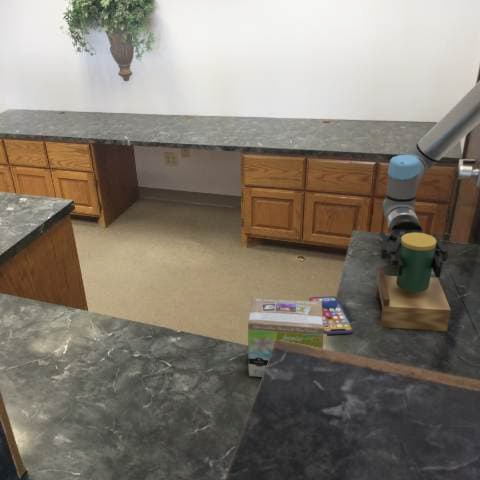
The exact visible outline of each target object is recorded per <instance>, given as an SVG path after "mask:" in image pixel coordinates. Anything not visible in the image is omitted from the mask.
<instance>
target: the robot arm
mask: <svg viewBox="0 0 480 480" xmlns="http://www.w3.org/2000/svg"><path fill="white" fill-rule="evenodd" d="M479 124H480V80H478V81H477V83H476V84H474V85H473V87H472V88H470V89H469V91H468V92H467V93H466V94H464V95H463V97H462V98H460V100H458V102H457V103H456V104H455V105H454V106H453V107H452V108H451V109H450V110H449V111H448V112H447V113H446V114H445V115H443V117H442V118H441V119H440V120H439V121H438V122H437V123H436V124H435V125H434V126H433V127H432V128H431V129H430V130H429V131H427V133H426V134H425V135H424V136H423V137H421V139H420V140H419V141H417V143H416V144H415V145H414V146H413V147H412V148H411V149H409V150H408V151H407V152H406V154H399V155H396V156H395V155H394V156H393V157H392V158H390V160H389V164H388V168H387V183H386V193H385V198H384V200H383V203H382V214H383V216H384V218H385V222H386V224H387V225H386V226H387V228H388V232H389V234H387V233H385V232H383V231H381V232H379V234H378V243H379V244H380V259H382V260H386V259H388V263H389V264H390V265H391V266H394V267H395V268H396V272H397V273H398V276H402V271H403V263H402V260H401V256H400V249H401V237H402V236H403V235H405V234H407V233H424V234H426V233H425V232H424V231H423V227H422V226H421V223H420V221H419V219H418V216H417V214H416V212H415V211H416V210H415V208H416V200H417V191H418V185H419V182H420V181H421V180H422V178H424V176H425V175H426V174H427V173H428V172H429V171H430V170H431V169H432V168H433V167H434V166H435V165H436V164H437V163H438V162H439V161H440V160H441V159H442V158H444V156H446V154H448V153H449V152H450V151H451V150H452V149H453V148H454V147H455V146H456V145H457V144H459V142H460V141H462V140H463V139H464V138H465V137H466V136H467V135H468V134H469V133H471V131H473V129H474V128H475V127H477V126H478V125H479ZM431 236H432V237H434V238H435V239H436V241H437V242H436V246H435V251H434V258H433V264H432V271H433V273H434V275H435V278H441V273H442V268H443V264H444V262H447V260H448V255H449V251H448V249H447V248H446V246H445V245H444V244H443V242H442V241H441V240H440V238H439V234H438V233H433V234H432V235H431ZM389 241H390V242H392V243H393V245H392V246H391V248H390V249H389V250H388V242H389Z"/></svg>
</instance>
